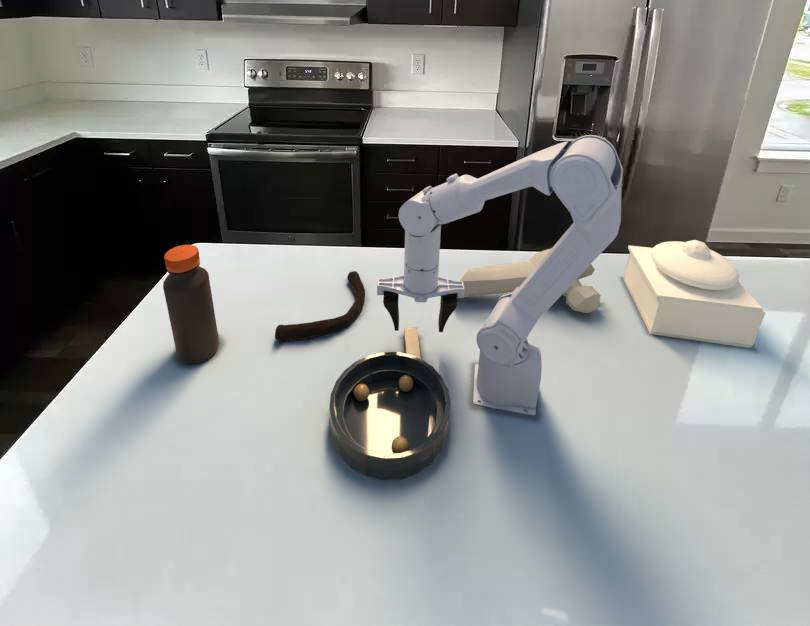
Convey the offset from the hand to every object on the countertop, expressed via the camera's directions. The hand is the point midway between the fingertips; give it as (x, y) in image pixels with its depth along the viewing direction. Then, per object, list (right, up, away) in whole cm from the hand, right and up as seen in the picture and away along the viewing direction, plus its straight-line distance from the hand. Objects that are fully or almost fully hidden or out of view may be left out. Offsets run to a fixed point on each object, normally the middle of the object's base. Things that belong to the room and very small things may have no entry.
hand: (418, 327), depth 74 cm
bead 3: (-4, -9, -16) cm, 18 cm away
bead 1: (-8, -6, -9) cm, 14 cm away
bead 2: (-2, -6, -8) cm, 10 cm away
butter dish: (+55, -2, +14) cm, 56 cm away
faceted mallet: (+23, 0, +17) cm, 28 cm away
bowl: (-5, -9, -11) cm, 15 cm away
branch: (-18, -1, +11) cm, 22 cm away
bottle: (-39, -4, +1) cm, 39 cm away
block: (-1, -5, +1) cm, 5 cm away
